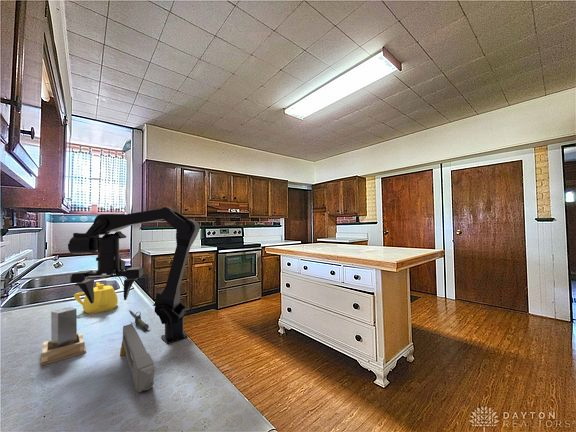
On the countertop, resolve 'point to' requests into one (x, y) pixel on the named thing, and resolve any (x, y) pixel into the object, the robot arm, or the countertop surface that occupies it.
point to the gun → (137, 359)
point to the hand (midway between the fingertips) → (109, 301)
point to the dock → (62, 350)
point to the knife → (139, 320)
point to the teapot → (99, 299)
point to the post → (63, 327)
